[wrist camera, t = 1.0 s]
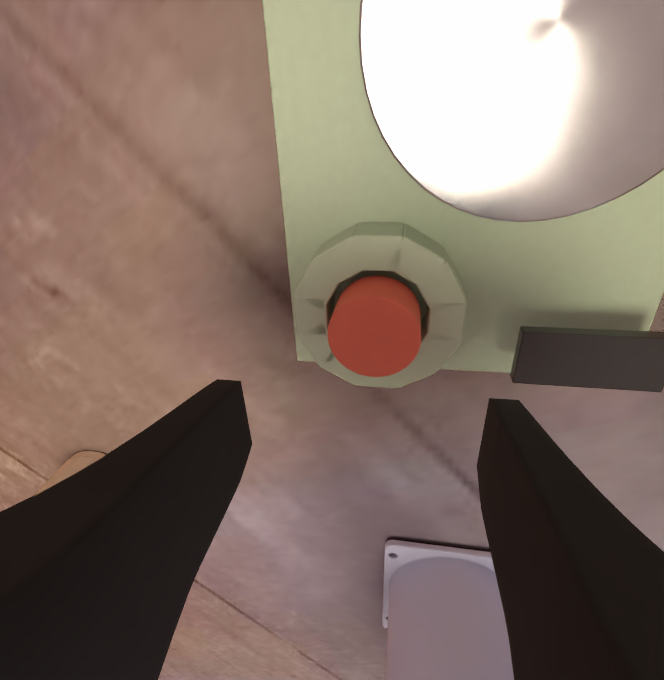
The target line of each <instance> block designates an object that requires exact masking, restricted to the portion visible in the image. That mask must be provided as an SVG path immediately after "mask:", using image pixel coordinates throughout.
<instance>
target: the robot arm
mask: <svg viewBox="0 0 664 680" xmlns="http://www.w3.org/2000/svg"><path fill="white" fill-rule="evenodd" d="M251 446H252V440H251V435H250V429H249V424H248V418H247V413H246V407H245V402H244V397H243V391H242V386H241V381H232V380H218V379H217V380H216V381H214V382H212V383H211V384H209V385H208V386H206V387H205V388H203V389H202V390H201V391H199V392H198V393H196V394H195V395H193V396H192V397H191V398H189V399H188V400H186V401H185V402H184V403H182V404H181V405H179V406H178V407H177V408H175V409H174V410H172V411H171V412H170V413H168V414H167V415H165V416H164V417H162V418H161V419H160V420H158V421H157V422H155V423H154V424H152V425H151V426H150V427H148V428H147V429H145V430H144V431H142V432H141V433H139V434H138V435H136V436H135V437H133V438H132V439H130V440H128V441H127V442H125V443H124V444H122V445H121V446H119V447H118V448H116V449H115V450H113V451H111V452H110V453H108V454H107V455H105V456H104V457H102V458H101V459H99V460H97V461H96V462H94V463H92V464H91V465H89V466H87V467H85V468H84V469H82V470H80V471H79V472H77V473H75V474H73V475H71V476H70V477H68V478H66V479H64V480H62V481H61V482H59V483H57V484H55V485H53V486H52V487H50V488H48V489H46V490H44V491H42V492H40V493H38V494H36V495H34V496H32V497H30V498H28V499H26V500H24V501H22V502H20V503H18V504H16V505H14V506H12V507H10V508H8V509H6V510H3V511H1V512H0V680H158V678H159V675H160V672H161V669H162V666H163V663H164V660H165V657H166V654H167V651H168V649H169V646H170V643H171V640H172V637H173V634H174V631H175V629H176V626H177V623H178V621H179V618H180V615H181V612H182V610H183V607H184V604H185V601H186V599H187V596H188V593H189V591H190V588H191V586H192V583H193V581H194V579H195V577H196V574H197V572H198V570H199V567H200V565H201V563H202V561H203V559H204V557H205V555H206V553H207V551H208V548H209V546H210V544H211V542H212V540H213V538H214V536H215V534H216V532H217V530H218V527H219V525H220V523H221V521H222V519H223V517H224V515H225V513H226V511H227V509H228V506H229V504H230V502H231V500H232V498H233V496H234V494H235V491H236V489H237V487H238V485H239V483H240V480H241V477H242V474H243V471H244V468H245V465H246V462H247V459H248V456H249V453H250V449H251ZM477 471H478V482H479V493H480V502H481V510H482V515H483V520H484V524H485V529H486V534H487V538H488V543H489V547H490V552H486V551H478V550H470V549H462V548H454V547H446V546H439V545H431V544H423V543H415V542H407V541H399V540H388V541H387V542H386V543H385V558H384V585H383V613H382V626H383V627H384V628H386V629H388V633H387V653H386V673H385V680H664V552H663V551H662V550H661V549H660V548H659V547H658V546H656V545H655V544H654V543H653V542H652V541H651V540H650V539H648V538H647V537H646V536H645V535H644V534H643V533H642V532H641V531H640V530H639V529H638V528H636V527H635V526H634V525H633V524H632V523H631V522H630V521H629V520H628V519H627V518H626V517H625V516H624V515H623V514H622V513H621V512H620V511H619V510H618V509H617V508H616V507H615V506H614V505H613V504H612V503H611V502H610V501H609V500H608V499H607V498H606V497H605V496H604V495H603V494H602V493H601V492H600V491H599V490H598V489H597V488H596V487H595V486H594V485H593V484H592V483H591V482H590V481H589V480H588V479H587V478H586V477H585V475H584V474H583V473H582V472H581V471H580V470H579V469H578V468H577V467H576V466H575V465H574V463H573V462H572V461H571V460H570V459H569V458H568V457H567V456H566V455H565V454H564V452H563V451H562V450H561V449H560V448H559V447H558V446H557V444H556V443H555V442H554V441H553V440H552V439H551V437H550V436H549V435H548V434H547V433H546V432H545V430H544V429H543V428H542V427H541V426H540V425H539V423H538V422H537V421H536V420H535V419H534V417H533V416H532V415H531V414H530V413H529V411H528V410H527V409H526V408H525V407H524V406H523V404H522V403H521V402H520V401H519V400H508V399H494V398H489V403H488V408H487V414H486V419H485V424H484V430H483V435H482V441H481V446H480V451H479V457H478V462H477Z"/></svg>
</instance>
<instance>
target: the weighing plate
mask: <svg viewBox="0 0 664 680" xmlns="http://www.w3.org/2000/svg"><path fill="white" fill-rule="evenodd" d="M359 52H360V66H361V72H362V77H363V83H364V89H365V93H366V97H367V100H368V103H369V107H370V110H371V113H372V116H373V119H374V121H375V123H376V125H377V128H378V130H379V132H380V135H381V137H382V139H383V140H384V142H385V144H386V145H387V147H388V149H389V150H390V152H391V154H392V155H393V157H394V158H395V159H396V161H397V162H398V163H399V164H400V166H401V167H402V168H403V169H404V171H405V172H406V173H407V174H408V175H409V176H410V177H411V178H412V179H413V180H414V181H415V182H416V183H417V184H418V185H419V186H420V187H421V188H423V189H424V190H425V191H427V192H428V193H430V194H431V195H433V196H434V197H435V198H437V199H438V200H440V201H442V202H444V203H446V204H447V205H449V206H451V207H453V208H455V209H457V210H460V211H463V212H466V213H469V214H472V215H474V216H477V217H482V218H487V219H492V220H497V221H510V222H531V221H545V220H550V219H556V218H562V217H567V216H570V215H574V214H577V213H580V212H584V211H587V210H591V209H593V208H595V207H598V206H600V205H603V204H605V203H607V202H610V201H612V200H615V199H617V198H618V197H620V196H622V195H624V194H626V193H628V192H630V191H631V190H633V189H635V188H637V187H639V186H641V185H642V184H644V183H645V182H647V181H648V180H650V179H651V178H653V177H654V176H656V175H657V174H659V173H660V172H662V171H663V170H664V0H361V1H360V14H359ZM510 376H511V379H512V382H513V383H523V384H539V385H555V386H571V387H587V388H603V389H619V390H635V391H651V392H661V391H662V390H663V387H664V332H655V331H631V330H606V329H582V328H558V327H533V326H521V327H520V330H519V335H518V339H517V344H516V349H515V354H514V359H513V363H512V368H511V373H510Z"/></svg>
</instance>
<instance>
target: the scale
mask: <svg viewBox="0 0 664 680" xmlns="http://www.w3.org/2000/svg"><path fill="white" fill-rule="evenodd" d="M360 1H361V0H262V2H263V13H264V23H265V33H266V43H267V54H268V64H269V74H270V84H271V95H272V105H273V115H274V125H275V136H276V146H277V156H278V166H279V177H280V187H281V197H282V207H283V218H284V228H285V238H286V248H287V259H288V269H289V279H290V289H291V300H292V310H293V320H294V330H295V341H296V351H297V360H298V361H312V362H316V363H317V364H318V365H319V366H320V367H321V368H323V369H325V370H327V371H328V372H330V373H332V374H334V375H336V376H338V377H340V378H341V379H343V380H345V381H347V382H349V383H351V384H353V385H356V386H366V387H380V388H400V387H402V386H405V385H408V384H410V383H413V382H415V381H418V380H421V379H423V378H426V377H428V376H431V375H434V374H435V373H436V372H437V371H438V369H448V370H465V371H482V372H499V373H511V368H512V363H513V359H514V354H515V349H516V344H517V339H518V335H519V330H520V327H521V326H533V327H558V328H582V329H606V330H631V331H649V330H650V327H651V324H652V322H653V319H654V317H655V314H656V311H657V309H658V306H659V304H660V301H661V298H662V296H663V293H664V170H663V171H662V172H660V173H659V174H657V175H656V176H654V177H653V178H651V179H650V180H648V181H647V182H645V183H644V184H642V185H641V186H639V187H637V188H635V189H633V190H631V191H630V192H628V193H626V194H624V195H622V196H620V197H618V198H617V199H615V200H612V201H610V202H607V203H605V204H603V205H600V206H598V207H595V208H593V209H591V210H587V211H584V212H580V213H577V214H574V215H570V216H567V217H562V218H556V219H550V220H545V221H531V222H510V221H497V220H492V219H487V218H482V217H477V216H474V215H472V214H469V213H466V212H463V211H460V210H457V209H455V208H453V207H451V206H449V205H447V204H446V203H444V202H442V201H440V200H438V199H437V198H435V197H434V196H433V195H431V194H430V193H428V192H427V191H425V190H424V189H423V188H421V187H420V186H419V185H418V184H417V183H416V182H415V181H414V180H413V179H412V178H411V177H410V176H409V175H408V174H407V173H406V172H405V171H404V169H403V168H402V167H401V166H400V164H399V163H398V162H397V161H396V159H395V158H394V157H393V155H392V154H391V152H390V150H389V149H388V147H387V145H386V144H385V142H384V140H383V139H382V137H381V135H380V132H379V130H378V128H377V125H376V123H375V121H374V119H373V116H372V113H371V110H370V107H369V103H368V100H367V97H366V93H365V89H364V83H363V77H362V72H361V66H360V52H359V14H360ZM377 275H379V276H386V277H391V278H393V279H396V280H398V281H400V282H402V283H403V284H405V285H406V286H407V287H408V288H409V289H410V290H411V291H412V292H413V293H414V295H415V296H416V298H417V300H418V303H419V306H420V312H421V345H420V349H419V352H418V354H417V356H416V357H415V359H414V360H413V361H412V362H411V363H410V364H409V365H408V366H407V367H406V368H405V369H403V370H401V371H400V372H397V373H395V374H392V375H389V376H384V377H369V376H364V375H360V374H357V373H355V372H353V371H351V370H349V369H347V368H346V367H345V366H343V365H342V364H341V363H340V362H339V361H338V360H337V359H336V357H335V356H334V354H333V353H332V351H331V349H330V346H329V343H328V336H327V334H328V325H329V322H330V320H331V317H332V314H333V312H334V309H335V306H336V304H337V301H338V299H339V297H340V295H341V293H342V292H343V290H344V289H345V288H346V287H347V286H348V285H350V284H351V283H352V282H354V281H356V280H358V279H360V278H363V277H367V276H377Z"/></svg>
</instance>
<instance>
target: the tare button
mask: <svg viewBox="0 0 664 680" xmlns="http://www.w3.org/2000/svg"><path fill="white" fill-rule="evenodd" d="M327 336H328V343H329V346H330V349H331V351H332V353H333V354H334V356H335V357H336V359H337V360H338V361H339V362H340V363H341V364H342V365H343V366H345V367H346V368H347V369H349V370H351V371H353V372H355V373H357V374H360V375H364V376H369V377H384V376H389V375H392V374H395V373H397V372H400V371H401V370H403V369H405V368H406V367H407V366H408V365H409V364H410V363H411V362H412V361H413V360H414V359H415V357H416V356H417V354H418V352H419V349H420V345H421V312H420V306H419V303H418V300H417V298H416V296H415V295H414V293H413V292H412V291H411V290H410V289H409V288H408V287H407V286H406V285H405V284H403V283H402V282H400V281H398V280H396V279H393V278H391V277H386V276H379V275H377V276H367V277H363V278H360V279H358V280H356V281H354V282H352V283H351V284H350V285H348V286H347V287H346V288H345V289H344V290H343V292H342V293H341V295H340V297H339V299H338V301H337V304H336V306H335V309H334V312H333V314H332V317H331V320H330V322H329V325H328V334H327Z"/></svg>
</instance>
